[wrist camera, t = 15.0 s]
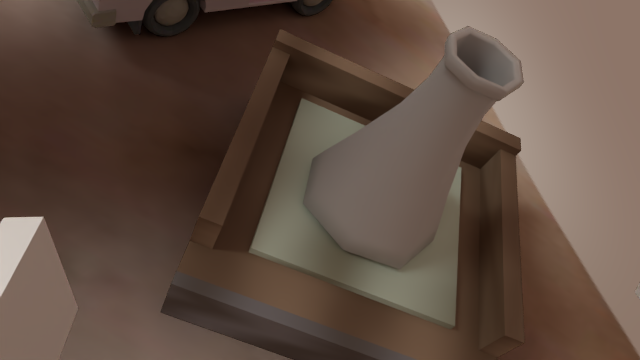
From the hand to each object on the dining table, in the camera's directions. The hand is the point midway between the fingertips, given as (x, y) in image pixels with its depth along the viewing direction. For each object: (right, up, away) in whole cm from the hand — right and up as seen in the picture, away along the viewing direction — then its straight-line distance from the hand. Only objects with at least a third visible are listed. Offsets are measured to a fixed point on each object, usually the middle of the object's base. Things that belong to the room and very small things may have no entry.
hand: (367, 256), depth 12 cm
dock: (0, -1, +18) cm, 18 cm away
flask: (+1, 0, +16) cm, 16 cm away
